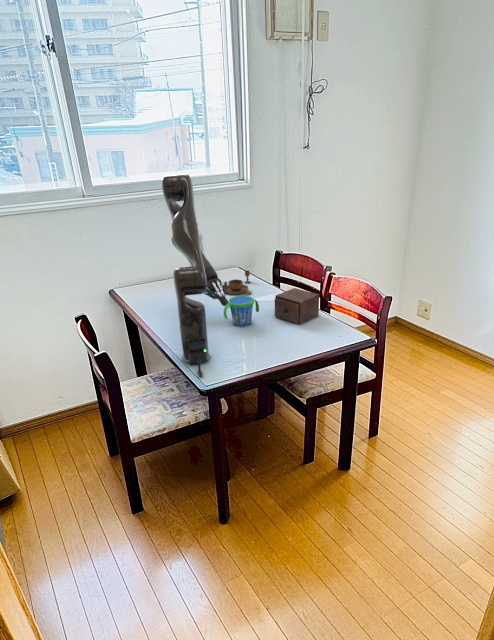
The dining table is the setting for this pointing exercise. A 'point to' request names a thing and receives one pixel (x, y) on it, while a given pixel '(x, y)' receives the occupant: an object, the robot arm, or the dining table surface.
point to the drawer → (287, 310)
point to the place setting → (238, 286)
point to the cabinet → (302, 303)
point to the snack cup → (241, 309)
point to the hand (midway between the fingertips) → (226, 304)
